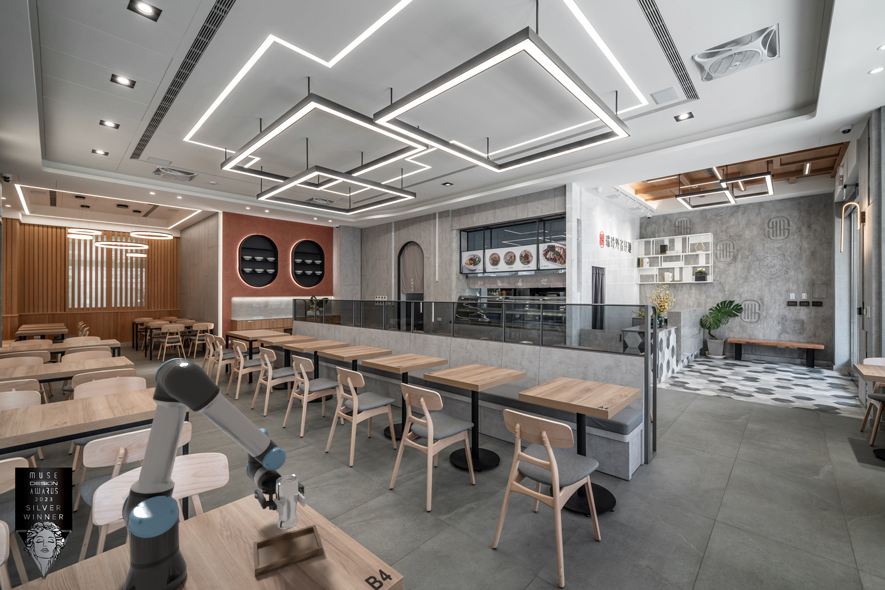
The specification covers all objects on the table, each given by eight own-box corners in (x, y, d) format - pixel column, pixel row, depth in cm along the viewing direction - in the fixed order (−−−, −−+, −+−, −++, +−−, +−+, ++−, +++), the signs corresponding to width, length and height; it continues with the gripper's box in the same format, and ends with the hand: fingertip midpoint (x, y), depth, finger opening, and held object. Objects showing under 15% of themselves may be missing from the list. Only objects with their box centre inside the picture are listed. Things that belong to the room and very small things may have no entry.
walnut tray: (254, 576, 116) (254, 569, 116) (253, 548, 128) (253, 542, 128) (322, 554, 125) (322, 547, 125) (315, 530, 138) (315, 524, 138)
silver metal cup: (291, 531, 123) (290, 485, 122) (271, 529, 124) (270, 483, 123) (303, 518, 129) (302, 475, 129) (284, 516, 131) (283, 473, 130)
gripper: (295, 480, 146) (322, 506, 129) (239, 500, 133) (261, 531, 116) (294, 461, 146) (321, 484, 129) (239, 479, 133) (261, 507, 116)
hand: (293, 506), depth 123 cm, fingers closed on silver metal cup, 6 cm apart
